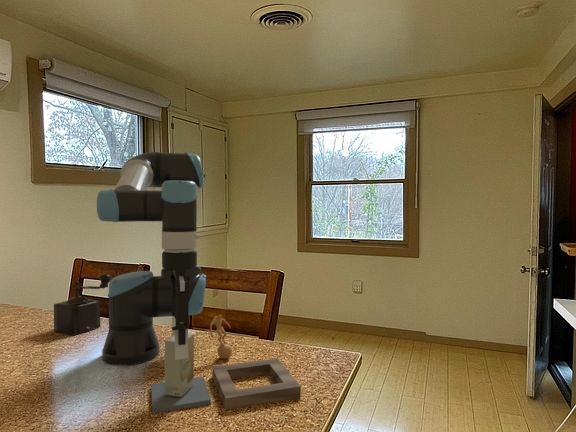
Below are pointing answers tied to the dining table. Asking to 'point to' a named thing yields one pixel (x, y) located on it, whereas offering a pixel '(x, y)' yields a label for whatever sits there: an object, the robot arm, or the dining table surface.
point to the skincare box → (178, 368)
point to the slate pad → (191, 398)
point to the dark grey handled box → (79, 311)
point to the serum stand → (254, 395)
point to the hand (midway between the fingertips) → (179, 351)
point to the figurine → (223, 349)
